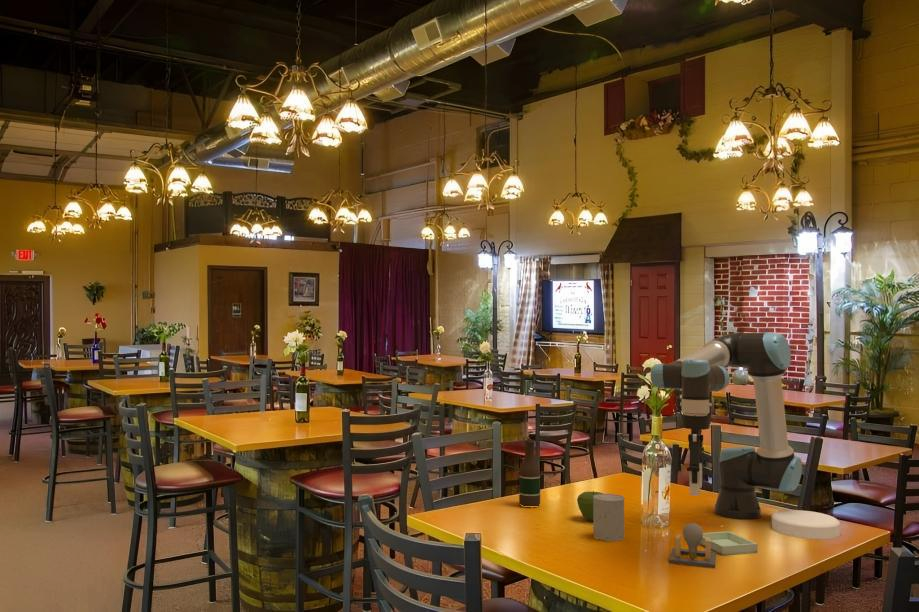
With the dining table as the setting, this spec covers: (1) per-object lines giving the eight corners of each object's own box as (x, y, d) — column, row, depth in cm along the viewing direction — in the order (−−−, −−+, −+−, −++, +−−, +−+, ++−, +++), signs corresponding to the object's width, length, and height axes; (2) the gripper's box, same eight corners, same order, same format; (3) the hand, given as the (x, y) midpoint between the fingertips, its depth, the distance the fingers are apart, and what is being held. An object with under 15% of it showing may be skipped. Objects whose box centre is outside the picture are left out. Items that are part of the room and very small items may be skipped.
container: (844, 543, 222) (844, 527, 223) (773, 536, 229) (773, 521, 229) (835, 526, 241) (835, 512, 241) (770, 521, 248) (769, 507, 248)
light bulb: (704, 563, 202) (704, 526, 202) (683, 561, 203) (683, 525, 203) (701, 557, 207) (701, 521, 207) (681, 555, 208) (681, 520, 208)
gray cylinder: (601, 531, 233) (600, 492, 234) (629, 536, 228) (629, 496, 228) (587, 538, 226) (587, 497, 226) (617, 543, 220) (616, 502, 221)
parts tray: (695, 542, 222) (695, 533, 222) (729, 539, 225) (729, 531, 225) (722, 555, 209) (722, 546, 209) (757, 552, 211) (757, 543, 212)
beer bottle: (517, 503, 270) (517, 438, 271) (537, 503, 271) (537, 438, 272) (521, 508, 263) (521, 441, 263) (542, 508, 263) (542, 441, 264)
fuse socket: (668, 563, 201) (668, 541, 202) (672, 551, 213) (672, 530, 213) (715, 568, 197) (714, 545, 197) (716, 555, 208) (715, 534, 209)
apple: (613, 518, 249) (613, 489, 250) (604, 525, 240) (604, 495, 240) (582, 514, 254) (582, 485, 255) (572, 521, 245) (572, 491, 245)
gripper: (708, 419, 193) (708, 500, 192) (711, 410, 217) (711, 483, 216) (678, 418, 196) (678, 498, 195) (684, 409, 219) (684, 481, 218)
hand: (696, 490), depth 205 cm, fingers open, 13 cm apart
